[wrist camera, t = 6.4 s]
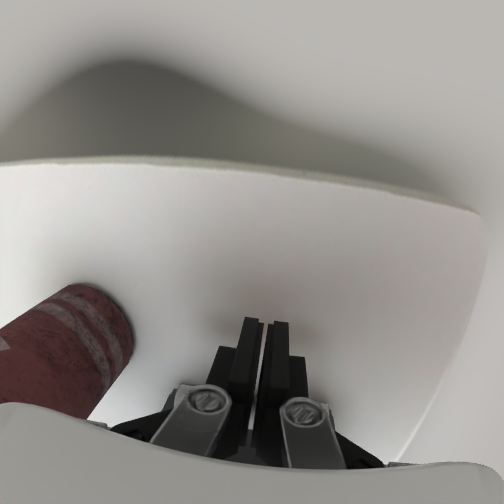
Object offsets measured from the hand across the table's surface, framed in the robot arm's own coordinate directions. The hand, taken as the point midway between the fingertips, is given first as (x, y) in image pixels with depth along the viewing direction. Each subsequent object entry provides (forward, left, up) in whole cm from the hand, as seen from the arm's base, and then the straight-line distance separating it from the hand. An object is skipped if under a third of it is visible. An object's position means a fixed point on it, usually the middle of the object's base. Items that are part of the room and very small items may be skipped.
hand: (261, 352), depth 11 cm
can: (+10, -3, -4) cm, 12 cm away
